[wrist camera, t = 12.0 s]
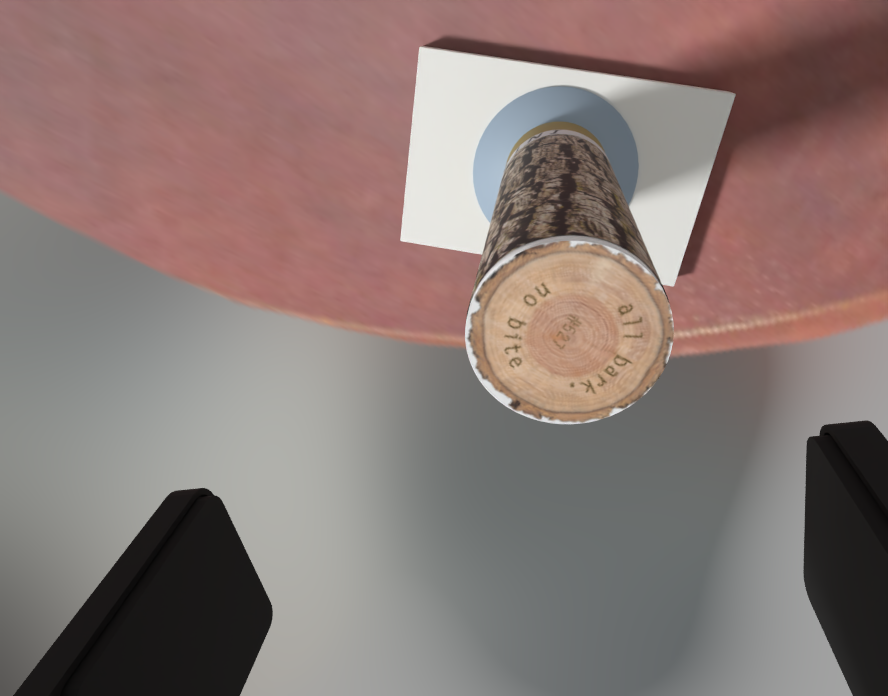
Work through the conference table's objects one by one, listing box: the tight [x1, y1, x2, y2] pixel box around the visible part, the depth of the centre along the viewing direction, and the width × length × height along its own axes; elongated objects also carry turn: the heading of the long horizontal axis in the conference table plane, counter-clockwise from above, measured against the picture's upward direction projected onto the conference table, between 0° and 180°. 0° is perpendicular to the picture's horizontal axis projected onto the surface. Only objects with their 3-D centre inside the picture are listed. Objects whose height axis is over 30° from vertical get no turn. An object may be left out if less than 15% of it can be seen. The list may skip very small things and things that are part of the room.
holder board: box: [400, 46, 736, 286], centre depth 44 cm, size 20×13×2 cm, turn 83°
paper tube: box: [465, 121, 674, 424], centre depth 32 cm, size 7×7×25 cm
